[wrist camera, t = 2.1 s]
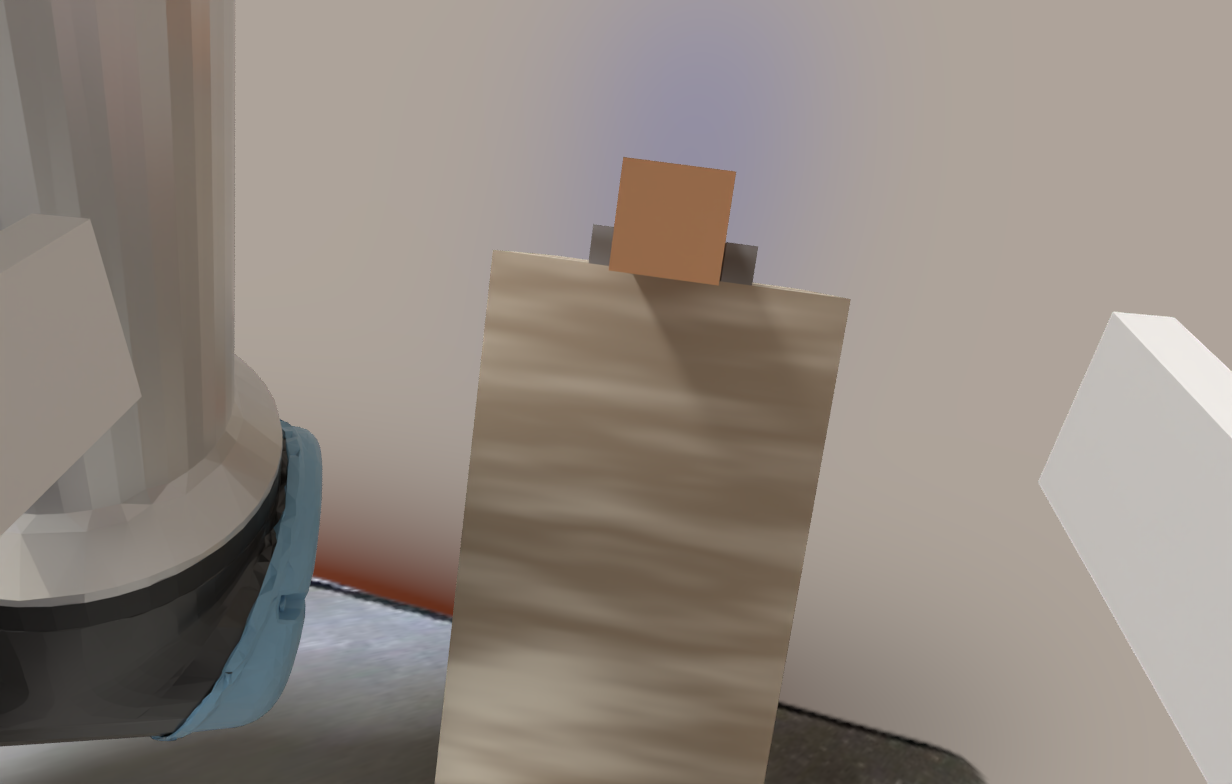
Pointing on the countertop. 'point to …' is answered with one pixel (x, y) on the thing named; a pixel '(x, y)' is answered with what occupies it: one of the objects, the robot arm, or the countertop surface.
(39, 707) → the robot arm
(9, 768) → the countertop surface
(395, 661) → the countertop surface
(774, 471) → the grey-brown tall block
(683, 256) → the orange bar
